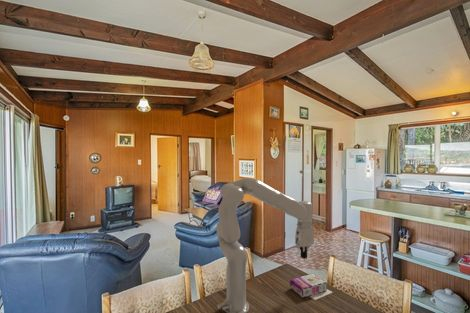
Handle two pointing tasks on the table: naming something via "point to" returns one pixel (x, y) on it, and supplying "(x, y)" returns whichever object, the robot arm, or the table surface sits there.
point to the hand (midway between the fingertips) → (303, 257)
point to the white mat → (320, 295)
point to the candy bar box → (308, 285)
